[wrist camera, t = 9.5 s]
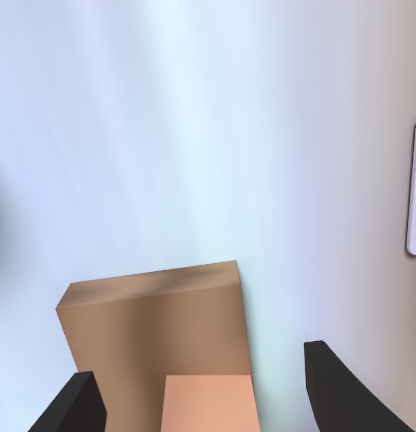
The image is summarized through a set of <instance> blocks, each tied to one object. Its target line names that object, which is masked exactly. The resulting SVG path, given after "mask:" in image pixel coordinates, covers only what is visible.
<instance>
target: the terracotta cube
mask: <svg viewBox="0 0 416 432" xmlns="http://www.w3.org/2000/svg"><path fill="white" fill-rule="evenodd" d="M161 432H261V431H260V426H259V420H258V414H257V409H256V403H255V397H254V392H253V386H252V380H251V375H166V385H165V395H164V405H163V415H162V424H161Z"/></svg>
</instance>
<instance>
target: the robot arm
mask: <svg viewBox="0 0 416 432" xmlns="http://www.w3.org/2000/svg"><path fill="white" fill-rule="evenodd" d="M406 247H407V250H408V251H409V252H410V253H411V254H413V255H416V130H415V143H414V156H413V169H412V181H411V194H410V207H409V220H408V233H407V246H406ZM304 355H305V375H306V389H307V393H308V396H309V400H310V403H311V407H312V410H313V413H314V417H315V420H316V423H317V425H318V428H319V430H320V432H415V431H414V430H412V429H411V428H410V427H409V426H408V425H406V424H405V423H404V422H403V421H402V420H401V419H399V418H398V417H397V416H396V415H395V414H394V413H393V412H392V411H391V410H389V409H388V408H387V407H386V406H385V405H384V404H383V403H382V402H381V401H380V400H379V399H378V398H377V397H375V396H374V395H373V394H372V393H371V392H370V391H369V390H368V389H367V388H366V387H365V386H364V385H363V384H362V383H361V382H360V381H359V380H358V379H357V378H356V377H355V375H354V374H353V373H352V372H351V371H350V370H349V369H348V368H347V367H346V366H345V365H344V364H343V363H342V361H341V360H340V359H339V358H338V357H337V356H336V355H335V353H334V352H333V351H332V350H331V349H330V348H329V346H328V345H327V344H326V343H325V342H324V341H322V340H320V341H313V342H305V343H304ZM106 420H107V411H106V408H105V405H104V402H103V399H102V396H101V393H100V391H99V388H98V385H97V382H96V379H95V376H94V373H93V371H85V372H78V373H75V374H74V375H73V376H72V377H71V378H70V380H69V381H68V382H67V383H66V385H65V386H64V387H63V388H62V390H61V391H60V392H59V393H58V395H57V396H56V397H55V399H54V400H53V401H52V402H51V404H50V405H49V406H48V407H47V409H46V410H45V411H44V412H43V414H42V415H41V416H40V417H39V419H38V420H37V421H36V422H35V423H34V425H33V426H32V427H31V428H30V430H29V431H28V432H105V427H106Z"/></svg>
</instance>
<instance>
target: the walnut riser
mask: <svg viewBox="0 0 416 432" xmlns="http://www.w3.org/2000/svg"><path fill="white" fill-rule="evenodd" d="M56 312H57V315H58V318H59V320H60V323H61V326H62V328H63V331H64V334H65V337H66V339H67V342H68V345H69V347H70V350H71V353H72V356H73V358H74V361H75V364H76V366H77V369H78V372H85V371H93V373H94V376H95V379H96V382H97V385H98V388H99V391H100V393H101V396H102V399H103V402H104V405H105V408H106V411H107V420H106V427H105V432H161V424H162V415H163V405H164V395H165V385H166V375H251V380H252V386H253V379H252V372H251V364H250V356H249V348H248V340H247V332H246V324H245V316H244V308H243V300H242V292H241V284H240V279H239V274H238V269H237V265H236V260H235V261H228V262H221V263H213V264H206V265H199V266H192V267H185V268H177V269H170V270H163V271H156V272H149V273H141V274H134V275H127V276H120V277H113V278H105V279H98V280H91V281H84V282H77V283H71V284H70V285H69V287H68V289H67V290H66V292H65V294H64V295H63V297H62V299H61V300H60V302H59V304H58V305H57V307H56ZM253 392H254V387H253ZM254 397H255V395H254Z"/></svg>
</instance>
